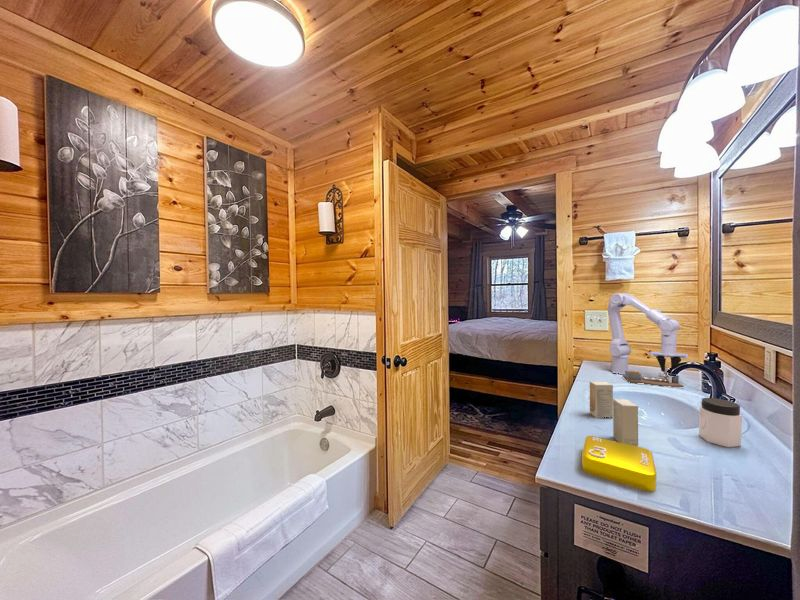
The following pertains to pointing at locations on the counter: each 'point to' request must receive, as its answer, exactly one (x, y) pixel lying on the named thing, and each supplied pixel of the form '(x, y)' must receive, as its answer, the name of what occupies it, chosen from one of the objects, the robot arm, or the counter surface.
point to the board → (654, 382)
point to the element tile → (619, 463)
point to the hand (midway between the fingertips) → (667, 371)
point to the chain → (660, 378)
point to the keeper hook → (674, 379)
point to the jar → (720, 422)
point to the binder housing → (633, 375)
